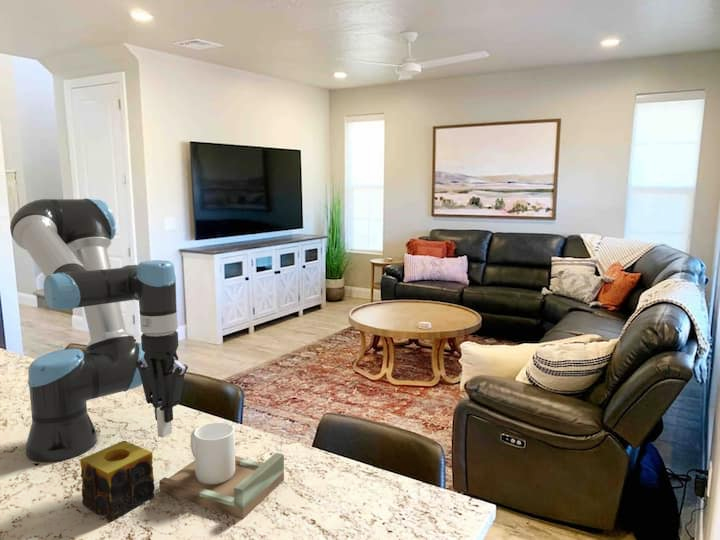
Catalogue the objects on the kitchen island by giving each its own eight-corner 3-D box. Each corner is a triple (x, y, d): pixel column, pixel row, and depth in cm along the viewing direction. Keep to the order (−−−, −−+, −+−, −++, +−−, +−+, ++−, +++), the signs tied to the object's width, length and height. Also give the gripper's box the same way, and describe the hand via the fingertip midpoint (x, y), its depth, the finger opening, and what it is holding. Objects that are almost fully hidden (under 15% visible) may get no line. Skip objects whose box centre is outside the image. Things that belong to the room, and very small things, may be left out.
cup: (213, 490, 107) (211, 443, 105) (176, 471, 113) (174, 428, 112) (243, 472, 113) (242, 428, 112) (207, 456, 120) (205, 414, 119)
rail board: (159, 493, 109) (158, 466, 108) (207, 460, 122) (206, 436, 122) (243, 518, 101) (242, 490, 100) (284, 480, 114) (283, 454, 113)
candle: (110, 523, 99) (107, 474, 97) (80, 506, 104) (77, 459, 103) (156, 497, 108) (154, 452, 106) (126, 482, 113) (124, 439, 111)
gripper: (123, 332, 112) (129, 436, 115) (170, 339, 107) (175, 447, 110) (149, 325, 119) (155, 423, 122) (195, 330, 114) (199, 432, 117)
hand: (165, 434), depth 116 cm, fingers closed
